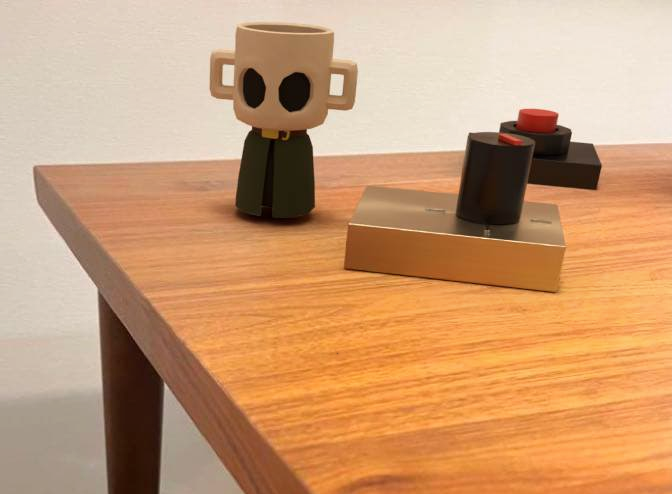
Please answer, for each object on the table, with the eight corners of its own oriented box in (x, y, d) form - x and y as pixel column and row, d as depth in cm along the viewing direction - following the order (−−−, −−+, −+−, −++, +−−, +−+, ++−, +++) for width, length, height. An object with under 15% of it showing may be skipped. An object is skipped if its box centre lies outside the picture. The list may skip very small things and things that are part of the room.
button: (553, 130, 92) (557, 110, 91) (555, 137, 89) (559, 117, 88) (515, 127, 92) (518, 107, 91) (515, 134, 89) (519, 113, 88)
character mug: (194, 218, 74) (197, 25, 66) (218, 196, 79) (223, 17, 72) (336, 234, 72) (354, 38, 65) (349, 210, 78) (367, 28, 71)
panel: (548, 245, 72) (558, 201, 70) (556, 292, 63) (567, 244, 61) (362, 225, 74) (367, 182, 72) (343, 268, 65) (348, 221, 63)
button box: (587, 167, 96) (597, 123, 94) (596, 190, 87) (607, 143, 85) (465, 155, 97) (472, 112, 95) (462, 177, 89) (469, 131, 87)
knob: (444, 208, 68) (456, 127, 65) (500, 206, 69) (514, 126, 66) (474, 225, 64) (488, 141, 61) (532, 223, 66) (549, 140, 63)
